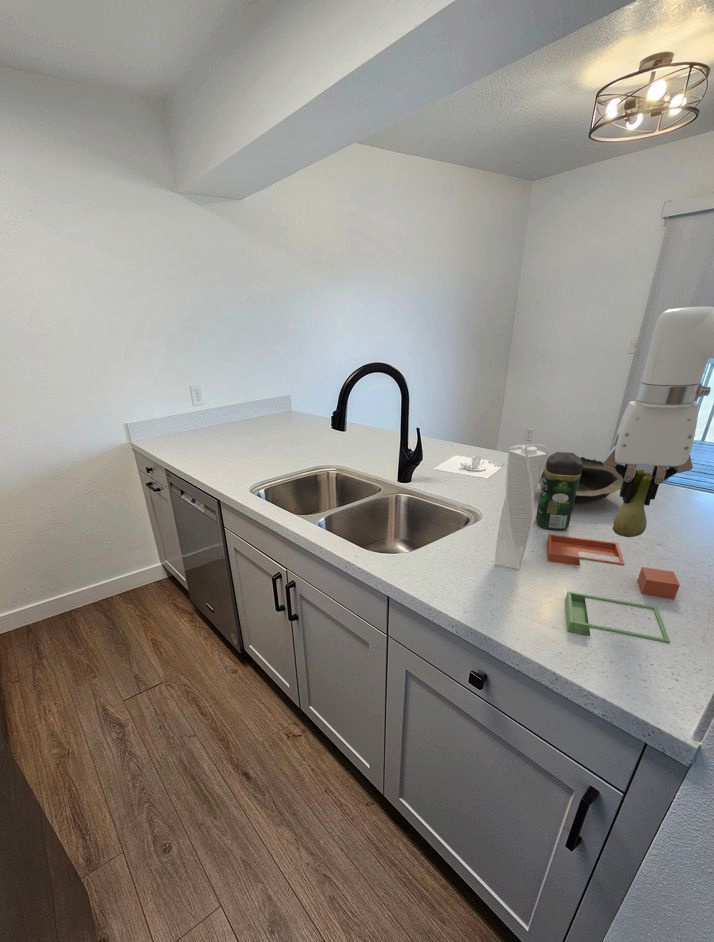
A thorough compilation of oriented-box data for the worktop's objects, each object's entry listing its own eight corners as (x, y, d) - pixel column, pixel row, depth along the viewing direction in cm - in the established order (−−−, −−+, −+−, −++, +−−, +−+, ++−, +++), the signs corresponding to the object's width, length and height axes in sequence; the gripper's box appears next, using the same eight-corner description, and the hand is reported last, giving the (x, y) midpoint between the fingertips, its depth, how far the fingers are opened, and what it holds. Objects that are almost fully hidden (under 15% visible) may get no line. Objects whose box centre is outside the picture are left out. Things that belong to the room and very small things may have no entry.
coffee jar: (534, 514, 120) (547, 448, 112) (566, 518, 117) (582, 450, 109) (534, 529, 112) (549, 459, 104) (569, 533, 109) (587, 461, 101)
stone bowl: (600, 482, 138) (609, 454, 133) (636, 520, 117) (648, 489, 112) (517, 480, 142) (523, 453, 137) (538, 517, 121) (546, 486, 117)
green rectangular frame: (653, 616, 79) (657, 606, 78) (666, 651, 71) (670, 641, 70) (565, 600, 85) (567, 591, 84) (567, 631, 77) (570, 621, 76)
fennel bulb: (616, 525, 84) (634, 465, 78) (646, 532, 80) (667, 470, 75) (606, 535, 80) (624, 473, 75) (637, 543, 77) (659, 479, 72)
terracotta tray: (615, 550, 101) (617, 542, 100) (621, 572, 92) (624, 564, 91) (546, 541, 106) (548, 533, 105) (547, 561, 98) (549, 553, 97)
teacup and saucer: (457, 469, 158) (459, 458, 156) (466, 463, 163) (467, 452, 161) (481, 473, 153) (483, 461, 151) (490, 467, 158) (491, 456, 156)
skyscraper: (524, 574, 94) (550, 446, 81) (488, 566, 97) (507, 443, 85) (528, 557, 100) (552, 436, 87) (493, 551, 103) (512, 434, 91)
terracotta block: (665, 593, 85) (673, 571, 83) (671, 607, 81) (680, 585, 79) (634, 588, 87) (641, 566, 85) (638, 601, 83) (646, 579, 81)
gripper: (723, 390, 69) (686, 498, 77) (604, 391, 75) (581, 490, 84) (740, 399, 63) (697, 515, 71) (609, 398, 70) (584, 504, 78)
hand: (635, 500), depth 77 cm, fingers closed on fennel bulb
